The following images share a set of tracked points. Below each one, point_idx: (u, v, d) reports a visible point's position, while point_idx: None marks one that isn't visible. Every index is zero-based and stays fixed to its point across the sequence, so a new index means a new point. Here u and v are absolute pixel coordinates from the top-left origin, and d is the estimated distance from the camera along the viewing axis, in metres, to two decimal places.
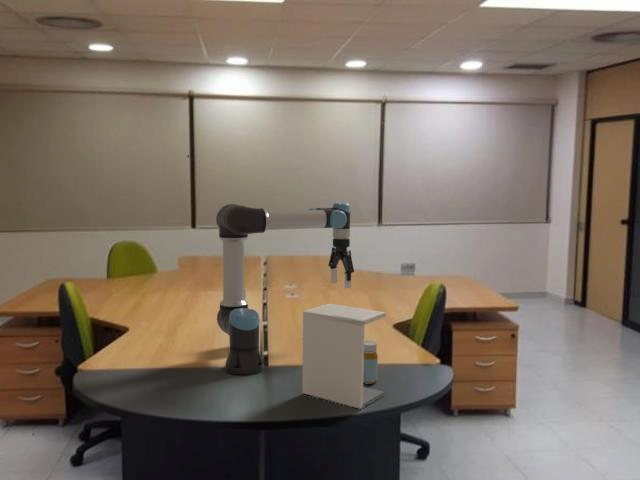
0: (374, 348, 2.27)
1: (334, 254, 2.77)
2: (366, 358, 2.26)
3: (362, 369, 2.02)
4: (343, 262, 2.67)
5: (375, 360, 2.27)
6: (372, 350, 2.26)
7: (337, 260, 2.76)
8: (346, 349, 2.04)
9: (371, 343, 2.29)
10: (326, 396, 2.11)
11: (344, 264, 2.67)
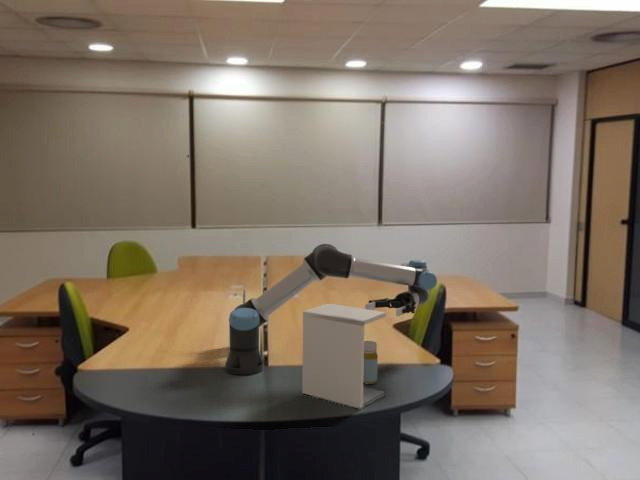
0: (374, 348, 2.27)
1: None
2: (366, 358, 2.26)
3: (362, 369, 2.02)
4: (405, 303, 2.42)
5: (375, 360, 2.27)
6: (372, 350, 2.26)
7: (385, 305, 2.47)
8: (346, 349, 2.04)
9: (371, 343, 2.29)
10: (326, 396, 2.11)
11: (407, 304, 2.41)
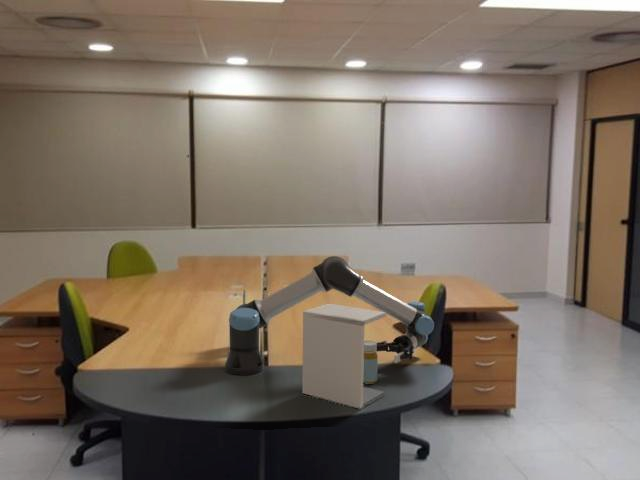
0: (374, 348, 2.27)
1: None
2: (366, 358, 2.26)
3: (362, 369, 2.02)
4: (403, 348, 2.42)
5: (375, 360, 2.27)
6: (372, 350, 2.26)
7: (383, 348, 2.47)
8: (346, 349, 2.04)
9: (371, 343, 2.29)
10: (326, 396, 2.11)
11: (405, 349, 2.41)
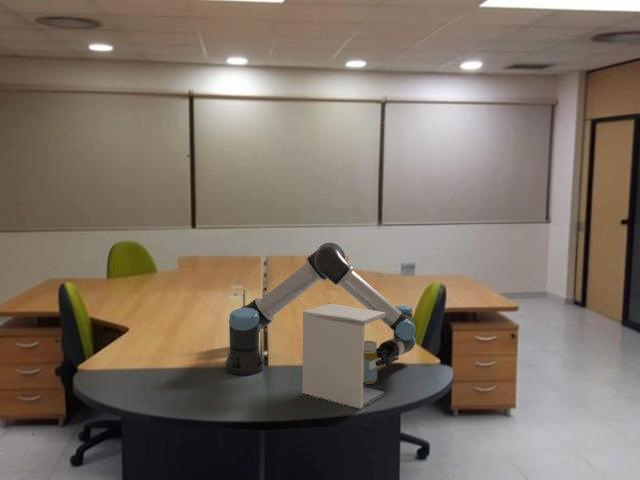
0: (374, 348, 2.27)
1: None
2: (366, 358, 2.26)
3: (362, 369, 2.02)
4: (384, 354, 2.33)
5: None
6: (372, 350, 2.26)
7: None
8: (346, 349, 2.04)
9: (371, 343, 2.29)
10: (326, 396, 2.11)
11: (384, 355, 2.32)
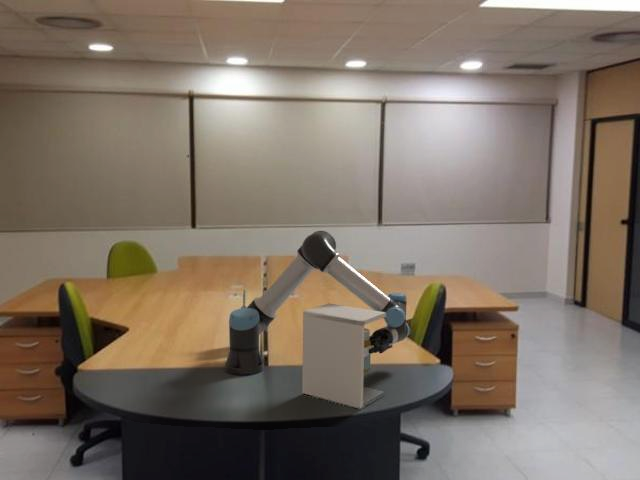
0: (367, 335, 2.20)
1: None
2: None
3: (362, 369, 2.02)
4: (378, 342, 2.26)
5: None
6: (365, 337, 2.19)
7: None
8: (346, 349, 2.04)
9: (364, 330, 2.22)
10: (326, 396, 2.11)
11: (378, 343, 2.25)
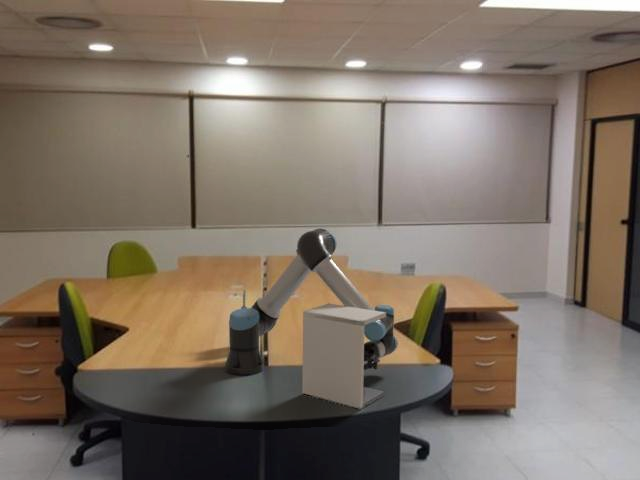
0: None
1: None
2: None
3: (362, 369, 2.02)
4: (368, 357, 2.20)
5: None
6: None
7: None
8: (346, 349, 2.04)
9: None
10: (326, 396, 2.11)
11: (369, 358, 2.18)
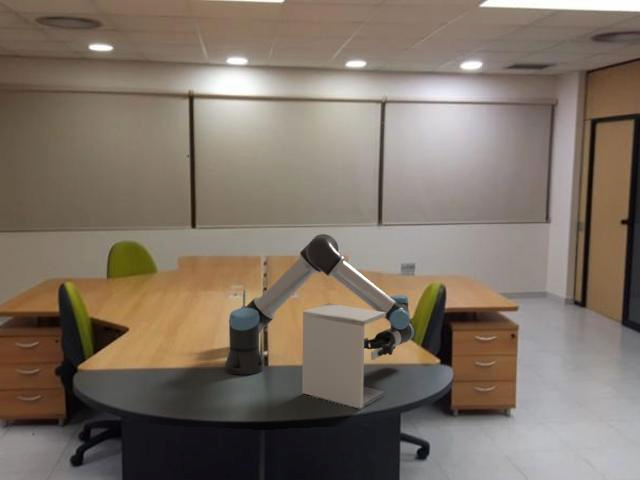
0: None
1: None
2: None
3: (362, 369, 2.02)
4: (383, 344, 2.30)
5: None
6: None
7: None
8: (346, 349, 2.04)
9: None
10: (326, 396, 2.11)
11: (384, 345, 2.29)
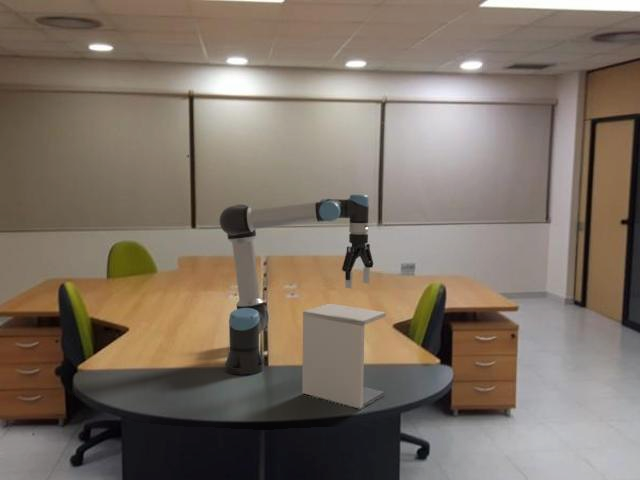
0: None
1: (365, 251, 2.52)
2: None
3: (362, 369, 2.02)
4: None
5: None
6: None
7: (364, 258, 2.50)
8: (346, 349, 2.04)
9: None
10: (326, 396, 2.11)
11: None
